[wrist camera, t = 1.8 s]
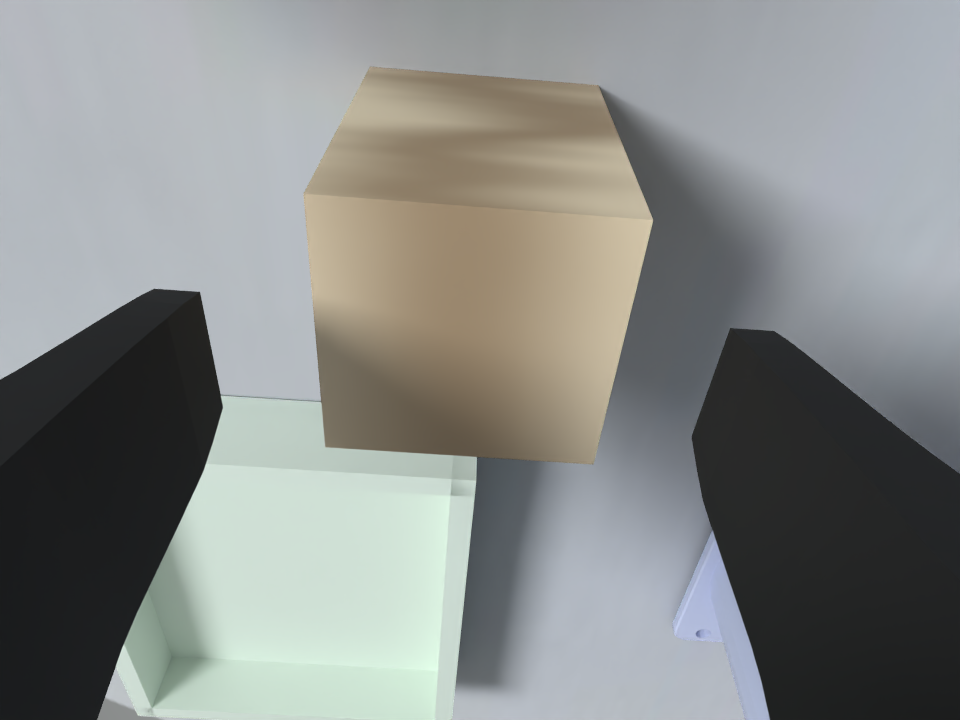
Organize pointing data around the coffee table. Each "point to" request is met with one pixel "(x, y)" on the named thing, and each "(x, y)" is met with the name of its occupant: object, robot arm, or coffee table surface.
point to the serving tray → (306, 580)
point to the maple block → (472, 266)
